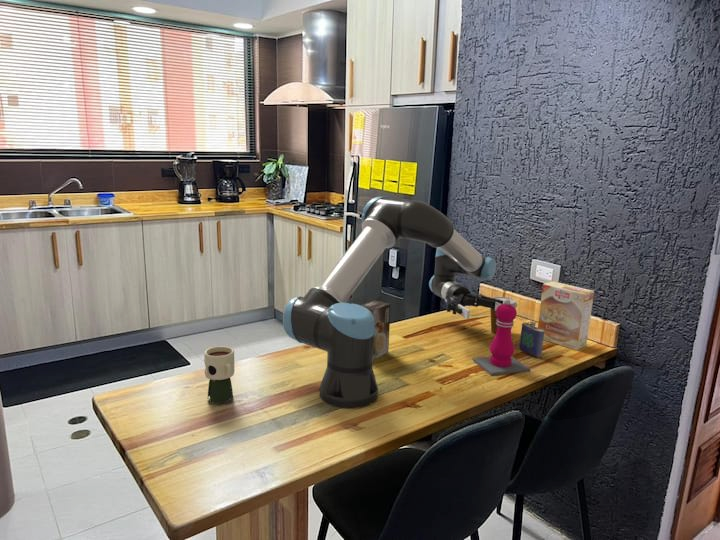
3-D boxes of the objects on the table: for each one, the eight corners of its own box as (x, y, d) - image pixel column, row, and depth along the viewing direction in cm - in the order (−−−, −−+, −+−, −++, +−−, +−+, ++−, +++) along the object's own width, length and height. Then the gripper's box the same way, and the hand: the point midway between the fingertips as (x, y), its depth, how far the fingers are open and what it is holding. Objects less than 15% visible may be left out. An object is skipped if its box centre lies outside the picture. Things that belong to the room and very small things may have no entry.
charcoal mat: (491, 375, 158) (491, 372, 158) (472, 360, 168) (472, 358, 168) (529, 371, 162) (530, 368, 161) (509, 356, 172) (509, 354, 172)
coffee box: (372, 347, 175) (374, 299, 171) (388, 352, 172) (391, 303, 168) (354, 355, 168) (356, 305, 164) (371, 361, 164) (374, 310, 161)
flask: (543, 357, 172) (547, 325, 170) (535, 359, 171) (539, 326, 169) (523, 347, 180) (526, 316, 178) (516, 348, 179) (519, 317, 177)
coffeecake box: (535, 337, 190) (542, 283, 185) (546, 333, 195) (552, 280, 190) (576, 351, 179) (584, 293, 175) (587, 346, 184) (595, 290, 179)
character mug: (197, 395, 139) (195, 347, 136) (223, 388, 143) (222, 341, 140) (217, 412, 131) (216, 361, 128) (244, 404, 135) (243, 354, 132)
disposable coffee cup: (507, 339, 187) (511, 305, 184) (481, 332, 193) (485, 300, 190) (518, 332, 195) (521, 300, 192) (493, 326, 200) (496, 294, 197)
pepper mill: (516, 362, 166) (523, 299, 161) (508, 370, 160) (516, 304, 155) (492, 356, 169) (499, 294, 165) (484, 363, 163) (491, 299, 159)
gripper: (486, 303, 195) (521, 322, 175) (422, 307, 187) (450, 327, 168) (488, 282, 193) (523, 299, 173) (423, 285, 185) (452, 304, 166)
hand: (488, 313), depth 170 cm, fingers open, 13 cm apart
